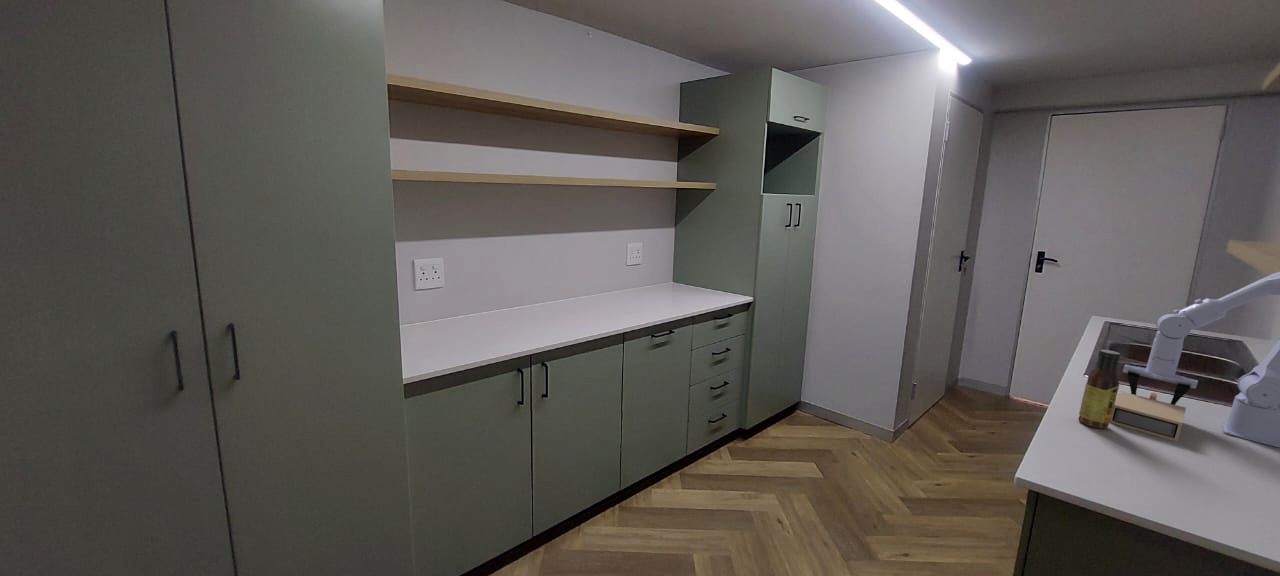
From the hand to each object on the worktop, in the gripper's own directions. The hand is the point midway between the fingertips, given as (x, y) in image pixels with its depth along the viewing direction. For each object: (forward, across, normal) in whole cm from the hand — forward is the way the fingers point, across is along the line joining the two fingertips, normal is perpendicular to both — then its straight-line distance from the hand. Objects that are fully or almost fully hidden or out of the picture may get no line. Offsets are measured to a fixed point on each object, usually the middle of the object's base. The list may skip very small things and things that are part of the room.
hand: (1151, 403), depth 146 cm
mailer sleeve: (+3, 0, -11) cm, 11 cm away
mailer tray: (+2, 0, -8) cm, 9 cm away
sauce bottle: (+3, -9, -24) cm, 26 cm away
